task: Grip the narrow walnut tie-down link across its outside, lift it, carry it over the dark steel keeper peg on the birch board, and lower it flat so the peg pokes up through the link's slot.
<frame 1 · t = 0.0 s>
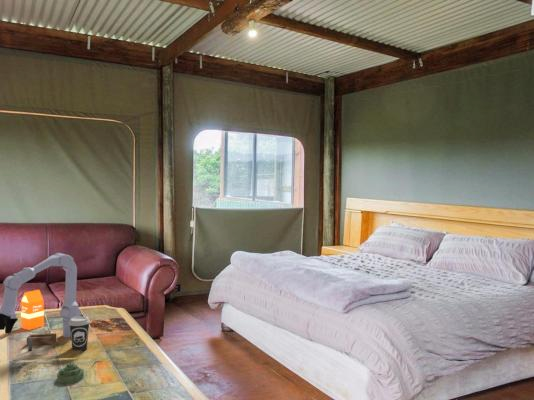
hand: (4, 331, 220), 11 cm above the table, tool pointing down, fingers open, 7 cm apart
birch board: (38, 349, 226), on the table
decorative artifact: (70, 379, 194), on the table
walnut link: (41, 343, 231), point 1 cm above the table, touching birch board
keeper peg: (30, 352, 222), resting on birch board
coffee cup: (79, 349, 226), on the table
orange juice: (32, 327, 261), on the table
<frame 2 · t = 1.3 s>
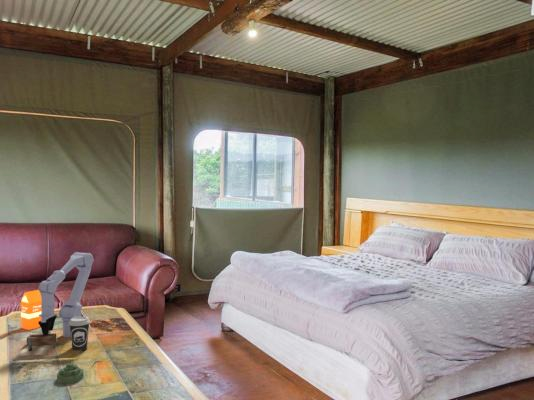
hand: (47, 332, 231), 6 cm above the table, tool pointing down, fingers open, 7 cm apart
nothing on the table moved.
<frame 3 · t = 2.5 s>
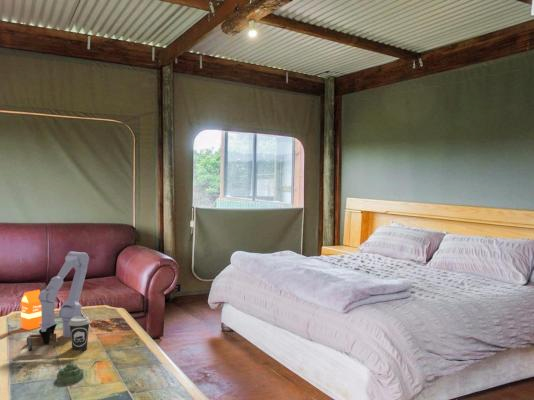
hand: (48, 341, 232), 2 cm above the table, tool pointing down, fingers closed on walnut link, 5 cm apart
walnut link: (41, 343, 231), point 1 cm above the table, touching birch board, gripper
everything else where it was.
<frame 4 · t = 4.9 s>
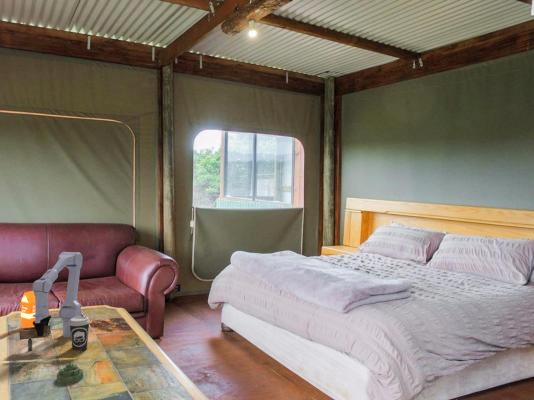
hand: (42, 333, 222), 9 cm above the table, tool pointing down, fingers closed on walnut link, 5 cm apart
walnut link: (35, 336, 222), point 8 cm above the table, touching gripper
everything else where it was.
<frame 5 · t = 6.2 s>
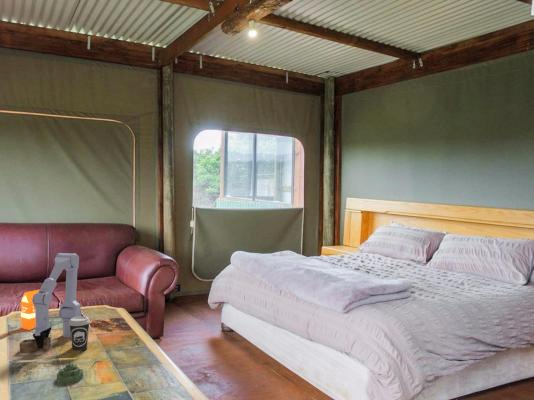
hand: (42, 345, 223), 3 cm above the table, tool pointing down, fingers closed on walnut link, 5 cm apart
walnut link: (35, 348, 222), point 2 cm above the table, touching gripper
everything else where it was.
when the fingers open (3 cm above the table, at t = 7.1 s): walnut link stays where it is, resting on birch board.
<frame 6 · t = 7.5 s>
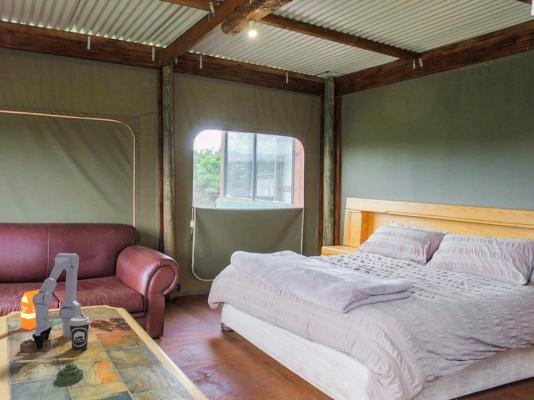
hand: (42, 346, 223), 3 cm above the table, tool pointing down, fingers open, 7 cm apart
walnut link: (35, 350, 222), point 1 cm above the table, touching birch board
everything else where it was.
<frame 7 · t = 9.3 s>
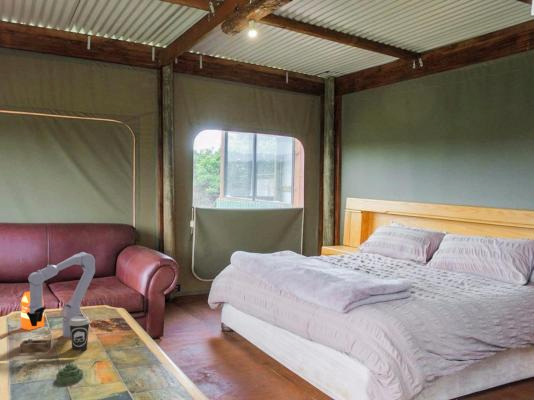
hand: (36, 323, 234), 10 cm above the table, tool pointing down, fingers open, 7 cm apart
nothing on the table moved.
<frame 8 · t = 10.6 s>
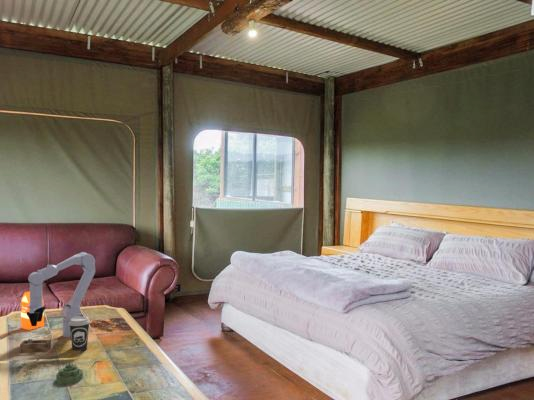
hand: (36, 323, 234), 10 cm above the table, tool pointing down, fingers open, 7 cm apart
nothing on the table moved.
at the end: walnut link 2.6 cm off-centre on the keeper peg, point 1.0 cm above the keeper peg's base; walnut link tilted 0°; the gripper is holding nothing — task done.
